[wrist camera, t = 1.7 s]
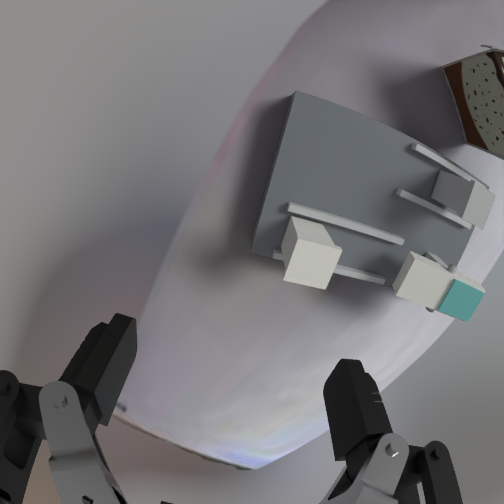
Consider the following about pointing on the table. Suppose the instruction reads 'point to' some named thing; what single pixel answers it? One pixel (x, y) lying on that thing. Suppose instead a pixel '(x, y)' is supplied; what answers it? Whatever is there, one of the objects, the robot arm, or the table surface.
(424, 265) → the rocker
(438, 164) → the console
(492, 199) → the grey slider
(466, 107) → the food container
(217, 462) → the table surface
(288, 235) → the white slider
